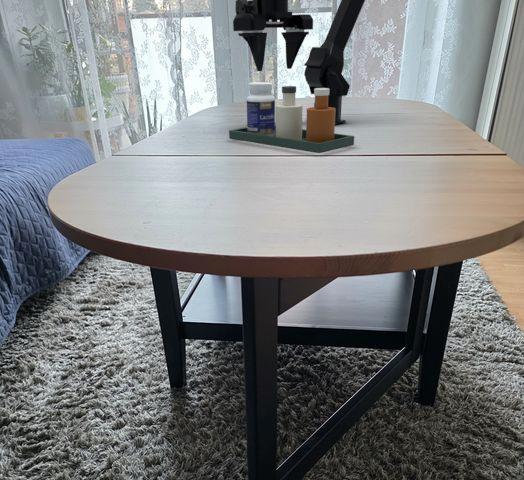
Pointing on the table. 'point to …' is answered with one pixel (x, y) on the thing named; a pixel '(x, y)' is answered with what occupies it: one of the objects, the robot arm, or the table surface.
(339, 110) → the robot arm
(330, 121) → the amber bottle
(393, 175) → the table surface
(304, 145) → the tray
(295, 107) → the white bottle
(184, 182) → the table surface
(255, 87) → the pill bottle
